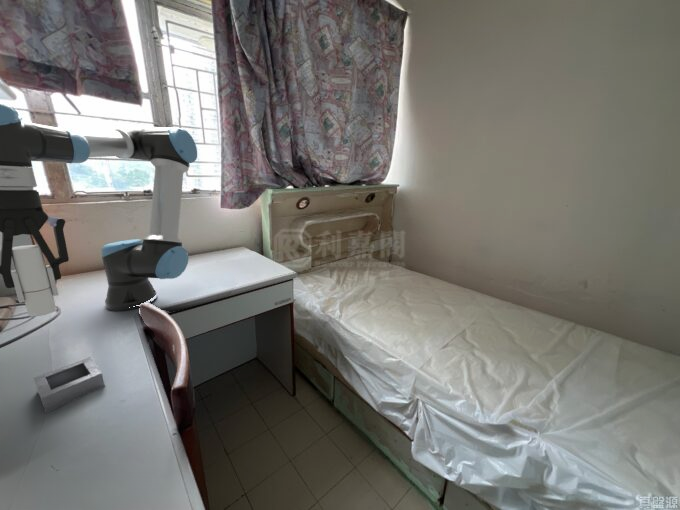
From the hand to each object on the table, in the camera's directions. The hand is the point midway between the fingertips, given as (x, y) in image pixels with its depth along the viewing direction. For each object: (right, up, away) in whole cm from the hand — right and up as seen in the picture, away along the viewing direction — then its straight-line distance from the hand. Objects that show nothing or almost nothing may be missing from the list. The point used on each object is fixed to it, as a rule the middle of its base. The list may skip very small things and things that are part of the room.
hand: (38, 296), depth 59 cm
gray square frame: (+8, -20, -1) cm, 22 cm away
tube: (0, -4, +1) cm, 4 cm away
